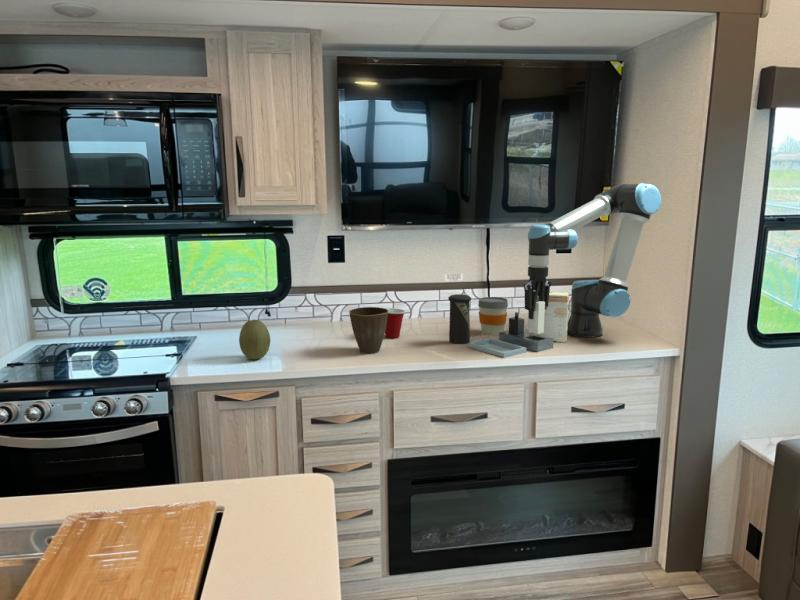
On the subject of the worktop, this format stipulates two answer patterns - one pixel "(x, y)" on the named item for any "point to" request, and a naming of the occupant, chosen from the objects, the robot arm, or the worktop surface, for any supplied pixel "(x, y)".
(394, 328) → the plastic cup
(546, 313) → the coffeecake box
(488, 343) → the tray
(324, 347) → the worktop surface
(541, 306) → the plug
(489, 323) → the reusable coffee cup
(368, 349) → the plant pot
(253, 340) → the fruit
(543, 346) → the grey socket base
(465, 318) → the container
